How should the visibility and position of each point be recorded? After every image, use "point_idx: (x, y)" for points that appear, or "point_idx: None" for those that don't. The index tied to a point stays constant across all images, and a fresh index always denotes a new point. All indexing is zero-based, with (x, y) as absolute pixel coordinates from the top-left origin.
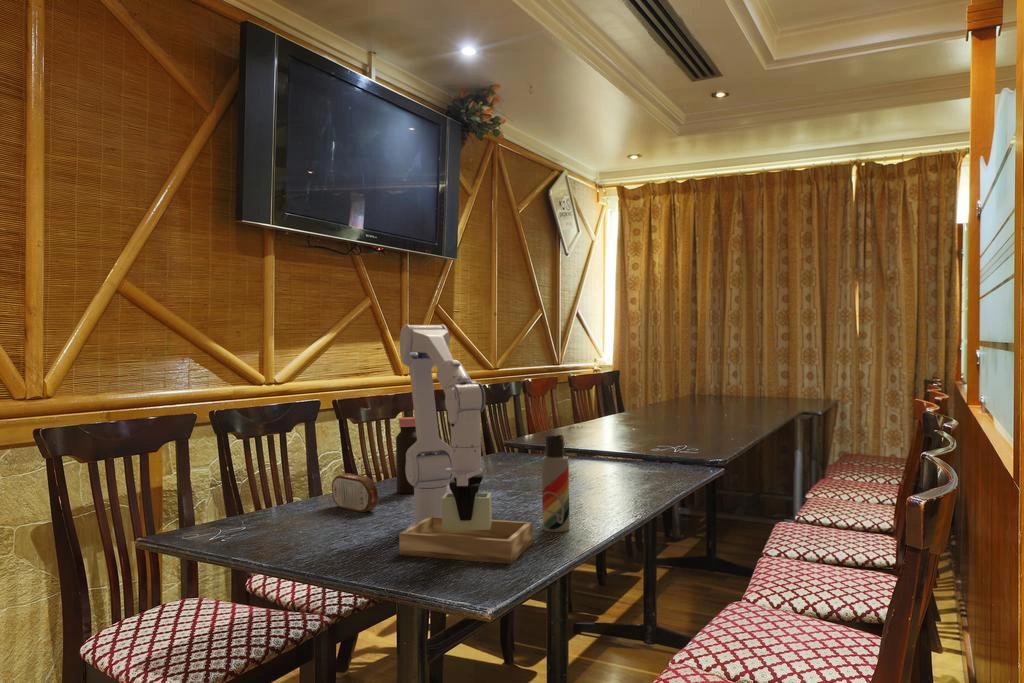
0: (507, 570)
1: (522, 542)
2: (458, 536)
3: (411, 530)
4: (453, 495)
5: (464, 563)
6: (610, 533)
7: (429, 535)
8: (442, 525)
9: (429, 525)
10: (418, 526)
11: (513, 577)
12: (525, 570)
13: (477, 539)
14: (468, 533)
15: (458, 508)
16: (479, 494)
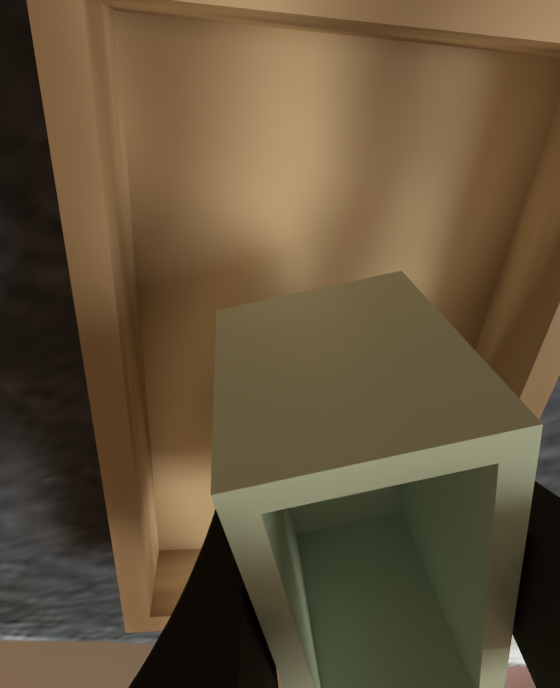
0: (66, 554)
1: None
2: (123, 437)
3: (202, 4)
4: (485, 491)
5: (81, 409)
6: (516, 658)
7: (71, 259)
8: (216, 327)
9: (558, 50)
10: (356, 23)
11: (3, 585)
12: (91, 591)
13: (109, 527)
14: (490, 318)
15: (206, 545)
16: (475, 655)
